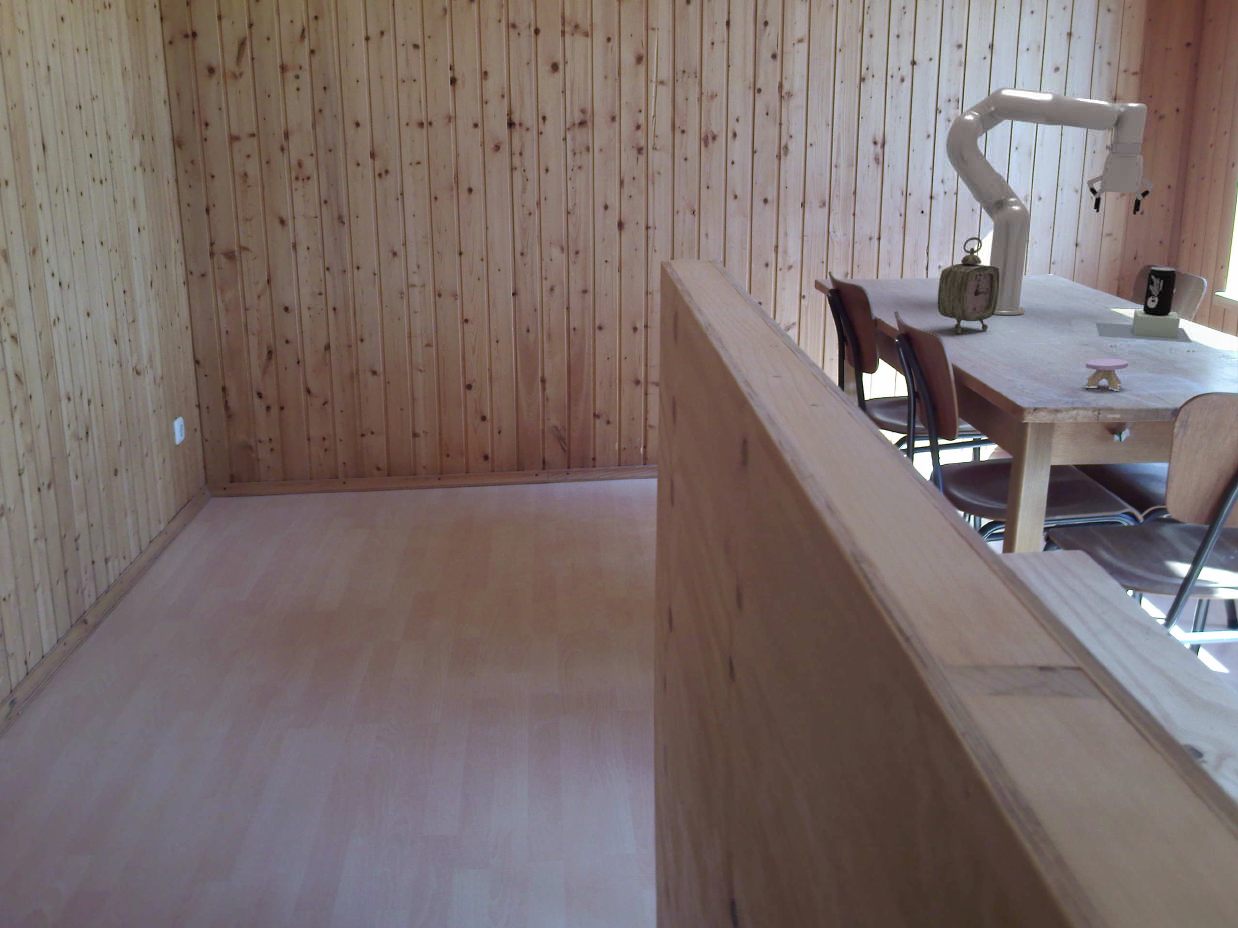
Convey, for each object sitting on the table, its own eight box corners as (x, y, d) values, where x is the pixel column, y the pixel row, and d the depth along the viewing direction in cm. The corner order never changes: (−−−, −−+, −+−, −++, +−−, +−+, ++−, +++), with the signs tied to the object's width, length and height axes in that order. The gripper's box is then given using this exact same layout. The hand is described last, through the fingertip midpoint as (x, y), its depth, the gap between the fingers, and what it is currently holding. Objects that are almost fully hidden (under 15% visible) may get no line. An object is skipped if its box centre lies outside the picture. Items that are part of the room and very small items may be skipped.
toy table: (1113, 382, 250) (1116, 356, 248) (1136, 392, 241) (1140, 366, 239) (1071, 383, 248) (1075, 357, 246) (1094, 393, 240) (1097, 367, 238)
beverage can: (1172, 316, 292) (1180, 270, 289) (1145, 315, 294) (1152, 269, 290) (1166, 312, 298) (1173, 267, 295) (1140, 311, 300) (1146, 266, 296)
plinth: (1135, 335, 294) (1137, 316, 293) (1132, 328, 303) (1134, 309, 302) (1177, 337, 291) (1180, 318, 290) (1172, 330, 300) (1175, 312, 299)
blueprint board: (1098, 339, 293) (1099, 336, 293) (1094, 326, 311) (1095, 322, 311) (1191, 346, 286) (1192, 342, 286) (1182, 331, 304) (1182, 328, 304)
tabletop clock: (958, 336, 296) (967, 240, 289) (931, 330, 304) (940, 237, 296) (994, 330, 304) (1004, 237, 296) (967, 325, 311) (977, 234, 304)
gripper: (1092, 149, 309) (1082, 212, 315) (1160, 151, 303) (1150, 216, 309) (1092, 148, 316) (1082, 210, 321) (1159, 150, 310) (1148, 214, 315)
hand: (1115, 213), depth 315 cm, fingers open, 9 cm apart
